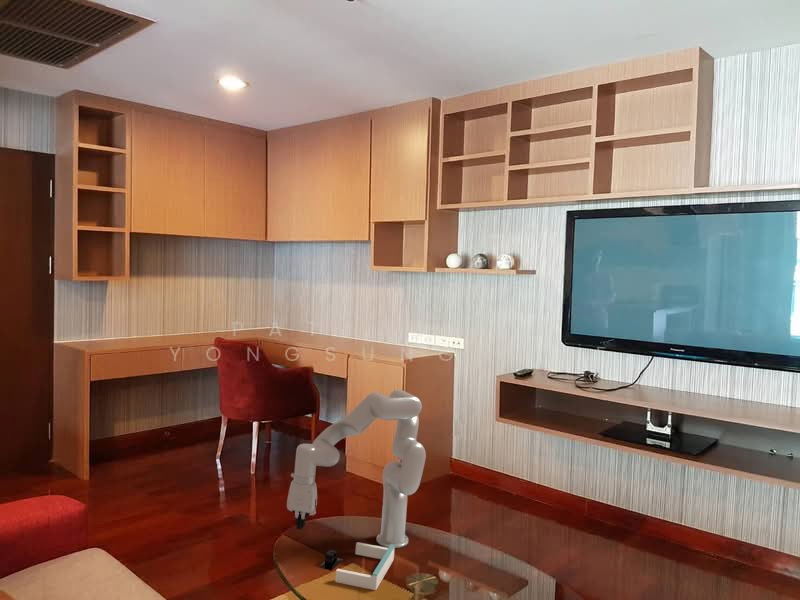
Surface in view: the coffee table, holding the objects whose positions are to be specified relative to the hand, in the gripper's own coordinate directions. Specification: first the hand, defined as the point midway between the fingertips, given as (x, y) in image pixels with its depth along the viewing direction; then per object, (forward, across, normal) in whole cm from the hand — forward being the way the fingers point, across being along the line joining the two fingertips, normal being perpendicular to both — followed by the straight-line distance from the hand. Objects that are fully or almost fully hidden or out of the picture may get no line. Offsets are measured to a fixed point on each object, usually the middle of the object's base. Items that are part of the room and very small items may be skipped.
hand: (300, 527), depth 226 cm
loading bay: (+11, +27, +1) cm, 29 cm away
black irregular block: (+12, +13, +1) cm, 17 cm away
